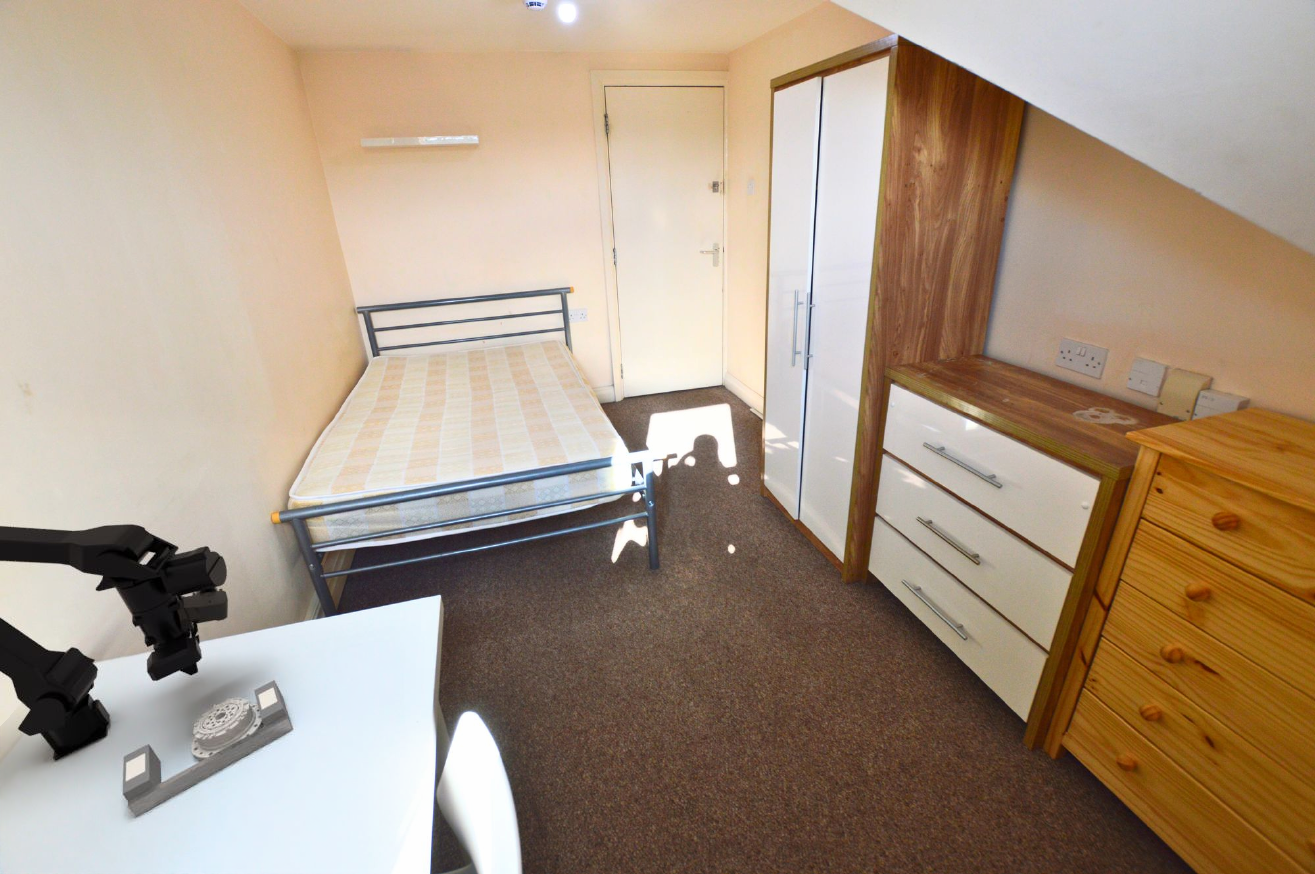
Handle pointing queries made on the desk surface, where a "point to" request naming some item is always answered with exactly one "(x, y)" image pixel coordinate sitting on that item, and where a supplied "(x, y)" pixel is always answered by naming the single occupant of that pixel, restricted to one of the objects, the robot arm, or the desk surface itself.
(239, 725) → the mechanical component
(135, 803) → the metal rail
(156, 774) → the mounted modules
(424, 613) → the desk surface
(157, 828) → the desk surface
